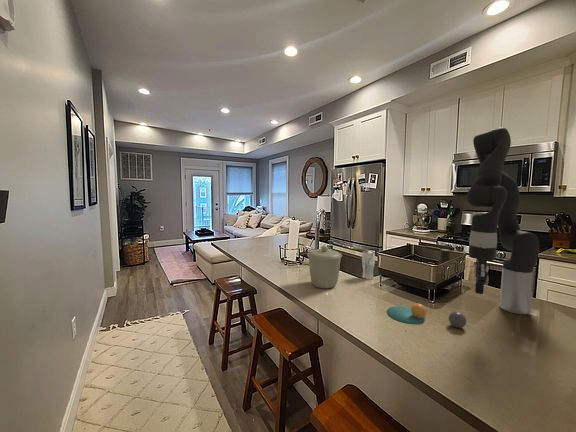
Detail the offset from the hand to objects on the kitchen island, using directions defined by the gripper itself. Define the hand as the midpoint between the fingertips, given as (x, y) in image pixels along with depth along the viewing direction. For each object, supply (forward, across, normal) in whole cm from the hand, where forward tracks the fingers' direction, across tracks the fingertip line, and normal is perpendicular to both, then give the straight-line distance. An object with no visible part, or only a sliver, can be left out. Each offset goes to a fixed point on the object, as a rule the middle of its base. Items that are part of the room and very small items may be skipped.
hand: (478, 293), depth 89 cm
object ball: (+11, 0, -18) cm, 22 cm away
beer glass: (+14, -36, -47) cm, 61 cm away
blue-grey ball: (+11, 0, -6) cm, 13 cm away
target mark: (+14, 0, -23) cm, 27 cm away
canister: (+14, -13, -64) cm, 67 cm away
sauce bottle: (+14, -40, -10) cm, 44 cm away
